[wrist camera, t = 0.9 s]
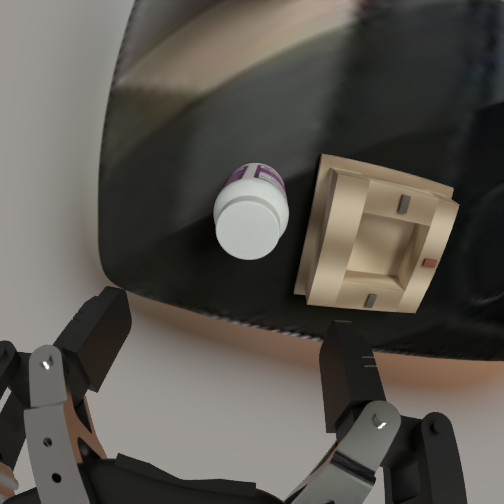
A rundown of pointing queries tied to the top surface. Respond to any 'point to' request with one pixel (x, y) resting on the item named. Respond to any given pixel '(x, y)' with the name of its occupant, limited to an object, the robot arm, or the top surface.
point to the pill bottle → (251, 212)
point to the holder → (373, 237)
